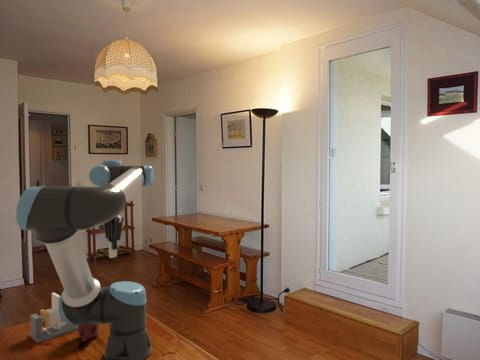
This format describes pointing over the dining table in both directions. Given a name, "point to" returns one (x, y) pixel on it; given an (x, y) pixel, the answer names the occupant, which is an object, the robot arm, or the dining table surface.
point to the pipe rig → (48, 329)
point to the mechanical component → (88, 331)
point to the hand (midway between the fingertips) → (113, 256)
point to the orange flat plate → (46, 314)
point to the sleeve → (54, 312)
